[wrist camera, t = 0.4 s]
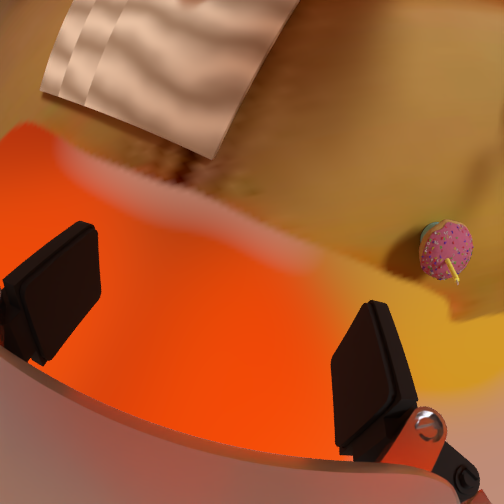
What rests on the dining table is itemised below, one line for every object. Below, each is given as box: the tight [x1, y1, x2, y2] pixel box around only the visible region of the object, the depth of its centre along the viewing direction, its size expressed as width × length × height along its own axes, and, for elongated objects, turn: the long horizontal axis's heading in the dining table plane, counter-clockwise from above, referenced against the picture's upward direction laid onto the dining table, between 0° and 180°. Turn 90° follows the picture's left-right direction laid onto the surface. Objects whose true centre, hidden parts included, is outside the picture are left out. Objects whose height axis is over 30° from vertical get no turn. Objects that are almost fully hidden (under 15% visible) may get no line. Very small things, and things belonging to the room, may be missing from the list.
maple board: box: [40, 0, 300, 160], centre depth 27 cm, size 30×32×2 cm
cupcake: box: [419, 219, 473, 285], centre depth 31 cm, size 9×8×12 cm
